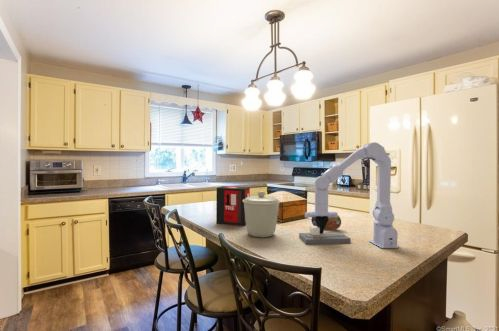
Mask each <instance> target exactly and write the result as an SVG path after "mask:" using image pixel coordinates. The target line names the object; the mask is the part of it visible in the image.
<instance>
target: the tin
mask: <svg viewBox="0 0 499 331" xmlns="http://www.w3.org/2000/svg"><path fill="white" fill-rule="evenodd" d="M328 218H329V220H328V222H327V224H326V226H325V228H324V230H329V231H336V230H338V229H339V228H340V227H341V225H342V219H341V217H340V215H338V217H328ZM310 219H311V224H312V226H317V223H316V221H315V219H314V217H311V218H310ZM317 227H318V226H317Z"/></svg>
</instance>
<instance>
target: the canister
mask: <svg viewBox="0 0 499 331" xmlns="http://www.w3.org/2000/svg"><path fill="white" fill-rule="evenodd" d="M242 201H243V202H244V210H245V220H246V225H245V226H246V231H247V232H246V233H248V235H249V236H251V237H253V238H269V237H272V236H273V235H274V234H275V233H276V228H277V222H278V213H279V206H280V203H281V200H280V199H278V198H277V197H274V196H270V195H268V196H267V195H266V193H265V191H264V190H259V191H258V192H257V195H253V196H252V195H250V197H247V198H245V199H244V200H242Z"/></svg>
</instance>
